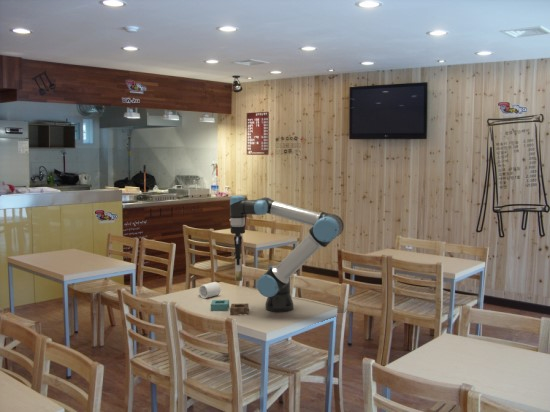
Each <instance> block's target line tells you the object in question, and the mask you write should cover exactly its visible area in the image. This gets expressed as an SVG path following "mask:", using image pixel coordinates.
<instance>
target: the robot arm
mask: <svg viewBox="0 0 550 412" xmlns="http://www.w3.org/2000/svg"><path fill="white" fill-rule="evenodd" d="M266 214H268V215H272V216H276V217H280V218H283V219H286V220H289V221H294V222H297V223H299V224H304V225H307V226H311V228H310V229H309V230H308V235H307V236H306V237H304V239H303V240H302V241H300V242H299V244H298V245H297V246H296V247H295V248H293V250H291V252H290V253H288V254H287V255H286V257H284V258H283V260H281V261H280V262H279V264H277V265H269V266H268V267H267V271H265V272H264V273H263V274H262V275H260V276H259V278H258V279H257V281H256V288H257V291H258V292H259V294H261V296H263V297H266V301H265V305H264V307H265V310H266V311H269V312H275V313H278V312H279V313H283V312H290V311H292V310H294V307H295V306H294V305H295V304H294V301H293V298H292V295H291V277H292V276H293V274H295V273H296V272H297V271H298V270H299V269H300V268H301V267H302V266H303V265H304V264H306V262H307V261H308V260H309V259H311V257H313V255H314V254H316V253H317V252H318V250H320V249H321V248H326V247H327V246H328V245H329V244H330V243H332V241H334V240H335V239H336V238H337V237H338V236H340V235H342V232H343V230H344V229H345V228H344V226H345V223H344V221H343V219H342V218H341V217H340V216H339V215H336V214H334V213H329V212H325V211H321V212H318V211H317V212H316V211H314V210H311V209H306V208H302V207H299V206H296V205H291V204H288V203H285V202H281V201H277V200H274V199H272V198H270V197H266V196H265V197H261V198H257V199H246V198H245V196H244V195H232V196H230V198H229V216H230V219H228V220H229V222H230V234H232V235H235V236H234V237H233V241H234V243H233V244H234V260H235V259H236V271H241V259H240V258H241V257H240V253H242V242H243V241H242V240H243V236H242V235H243V234H245V233H246V227H245V225H246V215H250V216H251V215H253V216H262V215H263V216H265V215H266ZM242 258H243V254H242Z"/></svg>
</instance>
